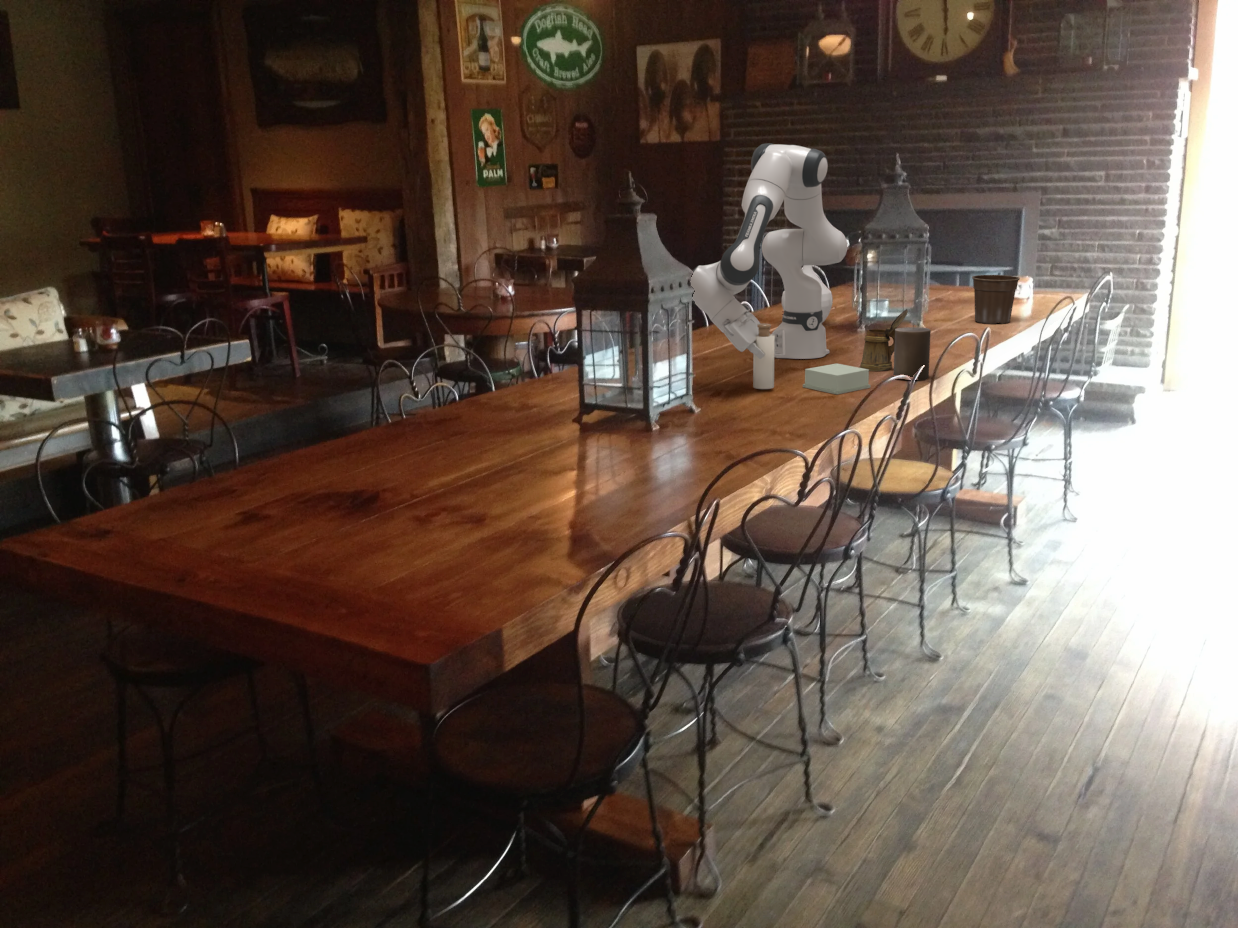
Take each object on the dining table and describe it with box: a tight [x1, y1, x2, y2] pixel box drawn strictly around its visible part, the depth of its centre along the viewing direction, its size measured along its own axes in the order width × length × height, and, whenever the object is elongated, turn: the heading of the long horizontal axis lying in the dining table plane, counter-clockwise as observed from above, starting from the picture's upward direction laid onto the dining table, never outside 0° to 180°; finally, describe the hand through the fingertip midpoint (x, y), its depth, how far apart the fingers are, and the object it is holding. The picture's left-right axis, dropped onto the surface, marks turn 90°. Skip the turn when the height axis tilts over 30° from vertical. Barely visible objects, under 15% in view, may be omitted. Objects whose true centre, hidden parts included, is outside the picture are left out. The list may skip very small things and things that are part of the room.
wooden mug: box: [859, 308, 909, 372], centre depth 326 cm, size 9×14×18 cm, turn 54°
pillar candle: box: [893, 324, 931, 381], centre depth 314 cm, size 10×10×15 cm
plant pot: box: [971, 274, 1021, 325], centre depth 403 cm, size 16×16×16 cm
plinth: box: [802, 362, 871, 395], centre depth 305 cm, size 13×13×5 cm
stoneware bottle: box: [752, 323, 775, 390], centre depth 303 cm, size 6×6×17 cm
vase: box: [781, 265, 833, 324], centre depth 406 cm, size 18×18×30 cm
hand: (766, 354), depth 302 cm, fingers closed on stoneware bottle, 6 cm apart
